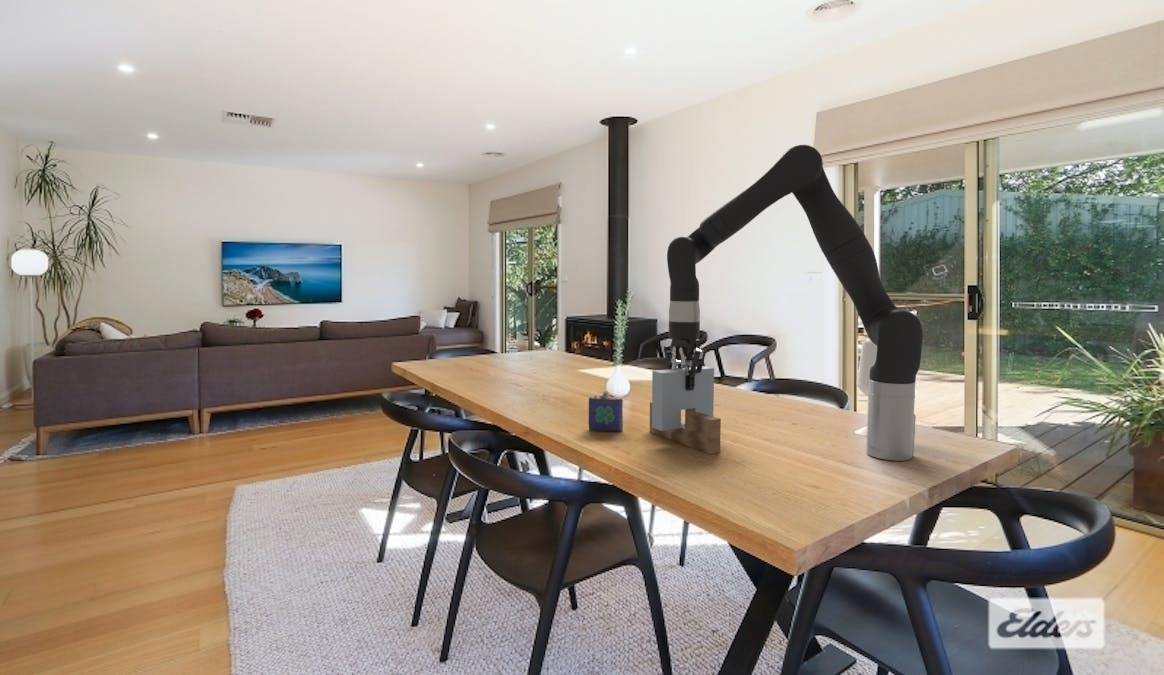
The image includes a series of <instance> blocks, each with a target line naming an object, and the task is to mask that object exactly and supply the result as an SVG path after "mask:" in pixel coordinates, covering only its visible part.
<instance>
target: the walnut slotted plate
mask: <svg viewBox="0 0 1164 675" xmlns="http://www.w3.org/2000/svg"><path fill="white" fill-rule="evenodd" d="M721 422H722V420H721V418H720V417H717V416H714V415H713V416H710V415H706V414H703V413H699V412H696V411H693V412H686V413H685V414H684V423H683V422H681V428H678V429H672V430H665V431H660V430H658V429H655V428H652V401H649V433H652V434H655V435H657V436H660V437H664V438H665V439H669V440H672V441H674V442H677V443H680V444H681V445H685V446H687V447H689V448H692V449H695V450H698V451H701V452H703V453H707V454H708V455H712V454H713V455H714V454H717V453H718V454H719V453H721V434H722V433H721V428H722V427H721Z"/></svg>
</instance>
